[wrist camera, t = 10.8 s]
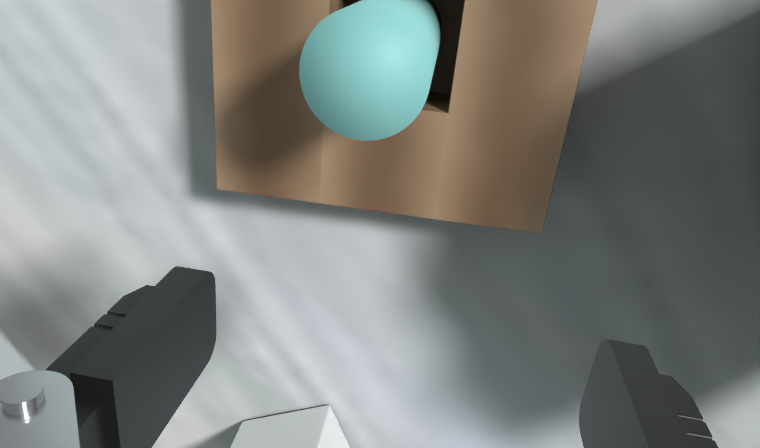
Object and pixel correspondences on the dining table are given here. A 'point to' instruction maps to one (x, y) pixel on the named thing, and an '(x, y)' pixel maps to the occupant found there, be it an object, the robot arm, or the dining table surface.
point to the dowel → (371, 66)
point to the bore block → (428, 130)
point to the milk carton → (292, 431)
